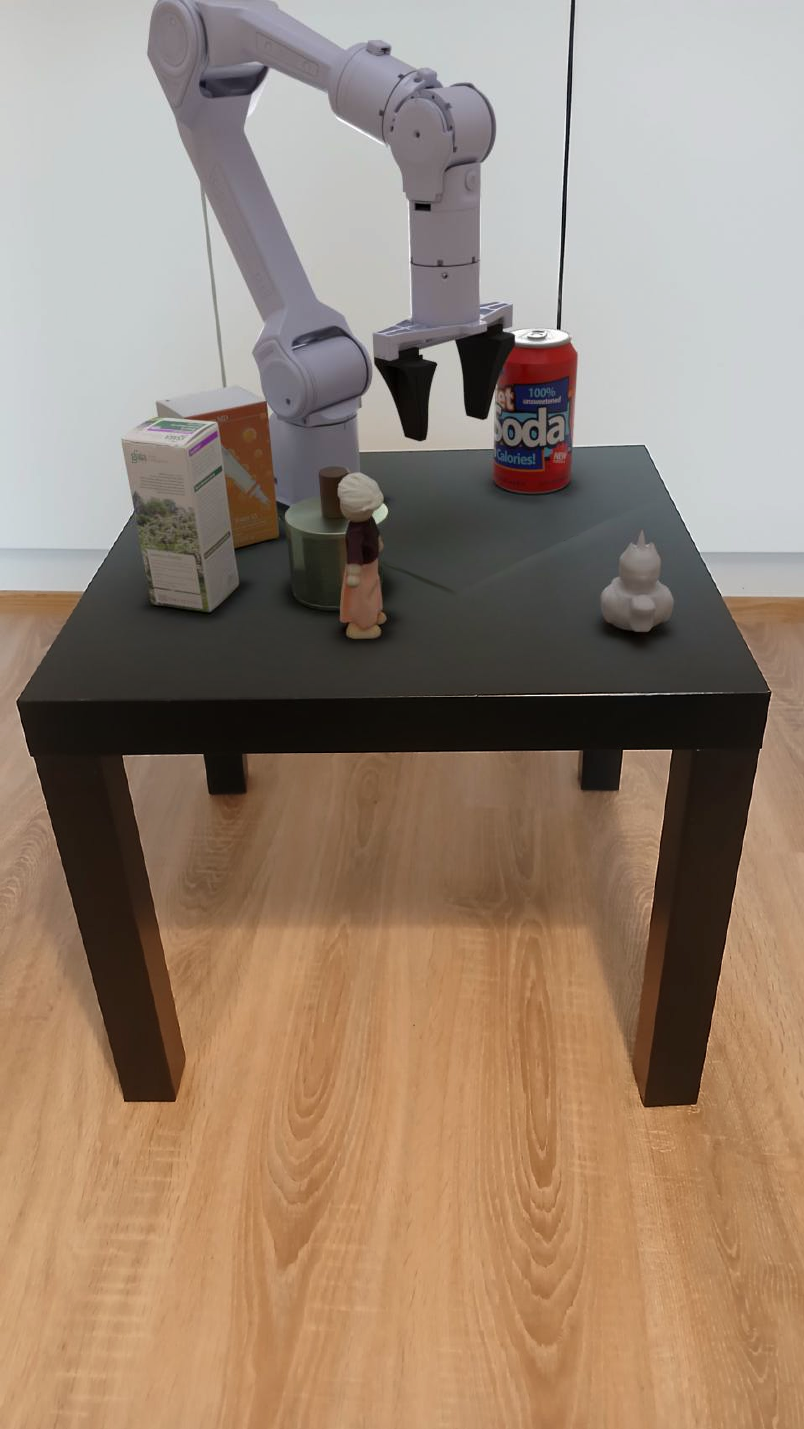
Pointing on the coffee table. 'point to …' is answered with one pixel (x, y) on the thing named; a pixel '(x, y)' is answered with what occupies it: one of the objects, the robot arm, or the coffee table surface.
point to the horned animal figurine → (637, 591)
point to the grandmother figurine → (361, 557)
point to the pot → (319, 570)
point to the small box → (238, 455)
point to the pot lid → (325, 510)
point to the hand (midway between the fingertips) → (446, 427)
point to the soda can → (535, 412)
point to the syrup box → (182, 512)
